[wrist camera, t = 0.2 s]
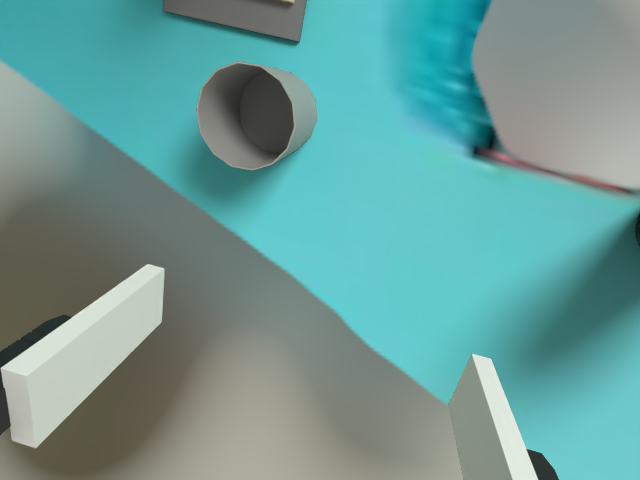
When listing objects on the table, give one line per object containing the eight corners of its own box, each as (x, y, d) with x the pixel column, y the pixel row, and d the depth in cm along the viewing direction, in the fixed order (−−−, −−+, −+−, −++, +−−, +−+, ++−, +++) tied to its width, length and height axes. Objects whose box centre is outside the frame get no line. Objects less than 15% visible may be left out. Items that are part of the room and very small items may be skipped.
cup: (237, 145, 42) (195, 159, 33) (242, 64, 39) (197, 54, 29) (311, 158, 41) (289, 177, 32) (323, 77, 38) (302, 71, 29)
